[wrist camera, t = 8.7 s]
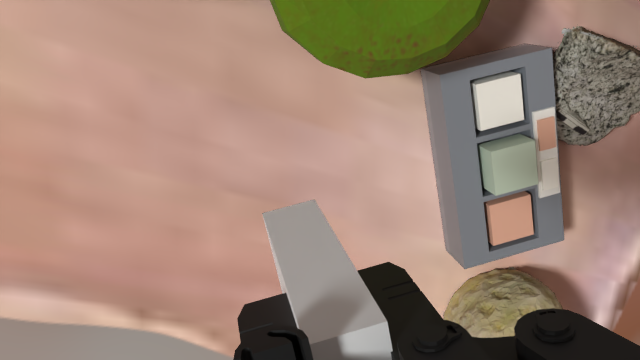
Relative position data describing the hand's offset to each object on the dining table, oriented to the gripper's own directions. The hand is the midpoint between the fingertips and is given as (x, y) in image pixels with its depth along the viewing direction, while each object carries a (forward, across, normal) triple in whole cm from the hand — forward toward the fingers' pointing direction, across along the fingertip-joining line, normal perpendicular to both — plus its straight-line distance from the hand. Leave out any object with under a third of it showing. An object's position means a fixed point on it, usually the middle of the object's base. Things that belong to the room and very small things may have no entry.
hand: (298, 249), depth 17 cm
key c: (+23, +17, -12) cm, 31 cm away
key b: (+22, +17, -8) cm, 29 cm away
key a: (+23, +17, -4) cm, 29 cm away
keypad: (+24, +17, -8) cm, 31 cm away
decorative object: (+25, +16, -22) cm, 37 cm away
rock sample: (+25, +26, -5) cm, 36 cm away
